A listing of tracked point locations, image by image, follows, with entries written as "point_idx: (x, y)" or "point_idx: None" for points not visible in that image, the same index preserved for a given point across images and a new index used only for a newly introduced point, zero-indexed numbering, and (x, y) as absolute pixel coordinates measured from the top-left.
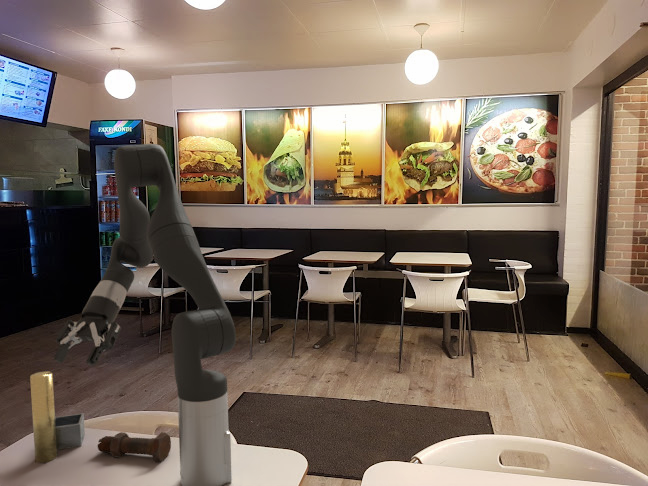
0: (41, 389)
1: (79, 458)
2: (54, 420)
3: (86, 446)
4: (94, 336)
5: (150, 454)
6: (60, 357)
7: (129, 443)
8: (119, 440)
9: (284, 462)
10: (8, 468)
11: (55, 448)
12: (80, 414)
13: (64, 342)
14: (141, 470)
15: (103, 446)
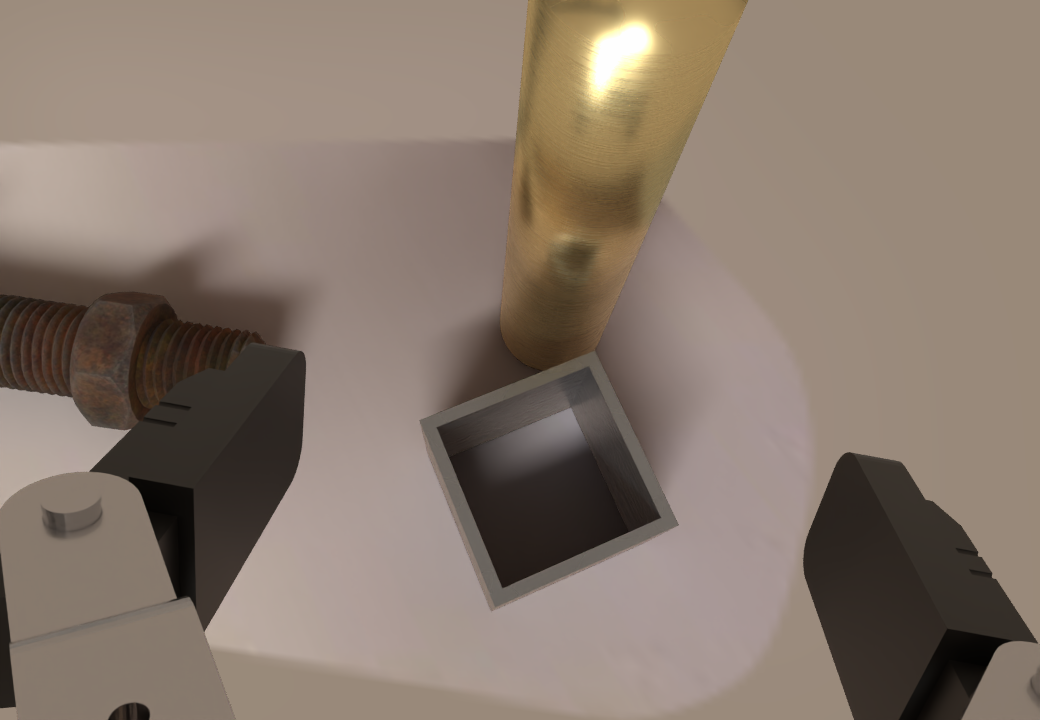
0: None
1: (365, 323)
2: (510, 238)
3: (393, 451)
4: (131, 620)
5: None
6: (844, 529)
7: (37, 307)
8: (95, 302)
9: None
10: (674, 227)
11: (501, 307)
12: (510, 586)
13: (995, 666)
14: None
15: (220, 327)
